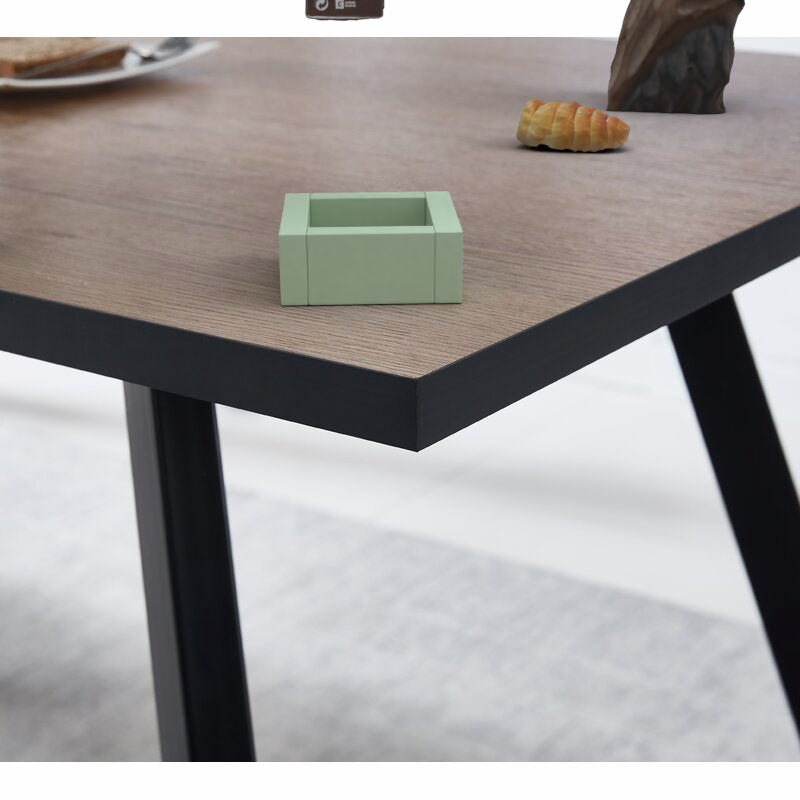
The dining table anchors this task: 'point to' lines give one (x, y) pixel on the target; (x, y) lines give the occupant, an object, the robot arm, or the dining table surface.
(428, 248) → the socket
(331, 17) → the box
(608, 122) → the pastry
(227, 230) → the dining table surface
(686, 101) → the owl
